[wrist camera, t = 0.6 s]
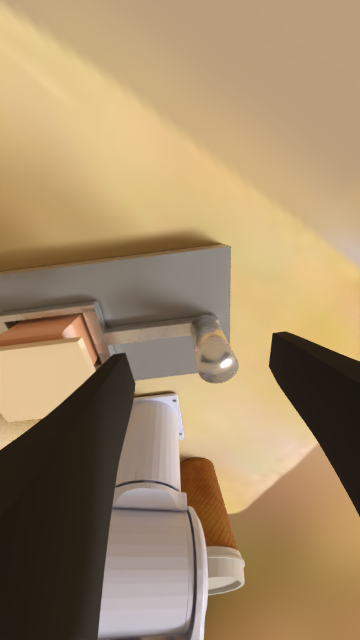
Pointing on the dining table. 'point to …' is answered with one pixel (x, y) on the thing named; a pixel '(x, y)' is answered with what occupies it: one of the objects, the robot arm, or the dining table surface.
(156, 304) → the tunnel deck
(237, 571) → the disposable coffee cup
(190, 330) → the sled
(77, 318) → the terracotta block
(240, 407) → the dining table surface
